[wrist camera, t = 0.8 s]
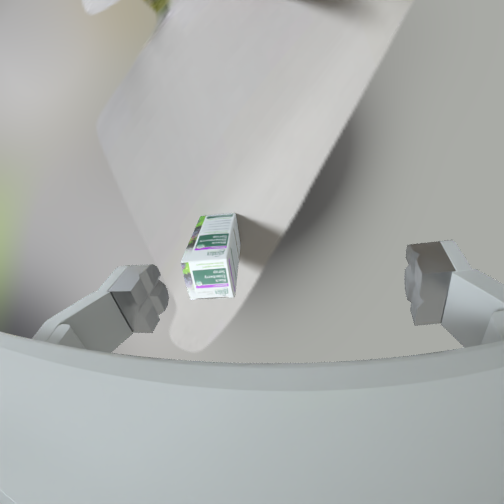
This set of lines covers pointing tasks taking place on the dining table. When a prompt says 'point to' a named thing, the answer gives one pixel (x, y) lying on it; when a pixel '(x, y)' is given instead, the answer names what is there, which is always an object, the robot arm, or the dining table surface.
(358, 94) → the dining table surface
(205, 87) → the dining table surface
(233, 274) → the syrup box
